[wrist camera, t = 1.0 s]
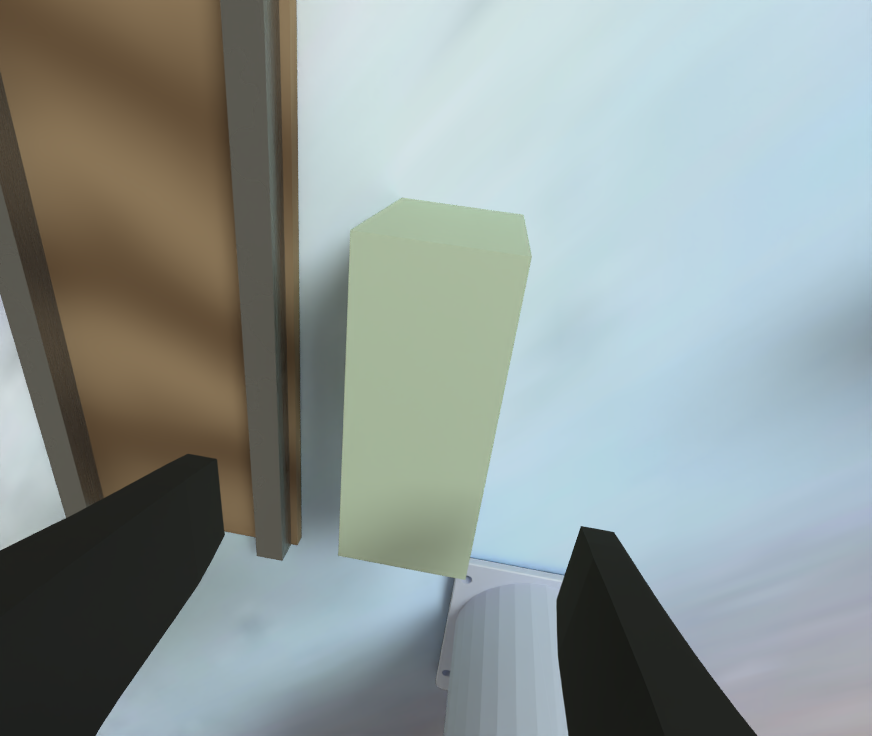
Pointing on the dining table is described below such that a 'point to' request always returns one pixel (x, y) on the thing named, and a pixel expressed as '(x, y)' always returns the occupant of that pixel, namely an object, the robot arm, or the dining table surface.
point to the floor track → (157, 244)
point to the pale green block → (425, 378)
